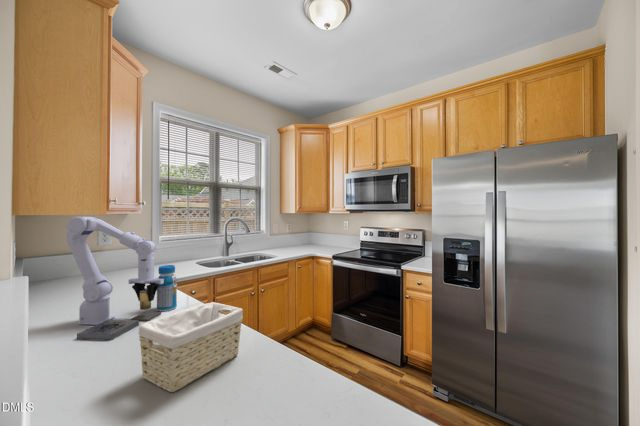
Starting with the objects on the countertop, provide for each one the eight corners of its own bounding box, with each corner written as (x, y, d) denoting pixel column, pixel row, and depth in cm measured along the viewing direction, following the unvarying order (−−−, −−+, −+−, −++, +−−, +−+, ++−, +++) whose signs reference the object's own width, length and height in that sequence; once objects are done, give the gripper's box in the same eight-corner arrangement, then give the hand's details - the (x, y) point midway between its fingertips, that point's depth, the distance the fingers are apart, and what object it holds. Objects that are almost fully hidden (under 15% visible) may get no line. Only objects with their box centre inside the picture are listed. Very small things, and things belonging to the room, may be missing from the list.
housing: (76, 339, 95) (76, 333, 95) (108, 324, 108) (108, 319, 108) (111, 340, 94) (111, 334, 94) (138, 325, 107) (138, 320, 107)
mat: (130, 320, 111) (130, 318, 111) (143, 313, 119) (143, 312, 119) (148, 321, 111) (148, 319, 111) (161, 314, 119) (161, 312, 119)
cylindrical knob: (137, 309, 113) (137, 290, 113) (145, 306, 117) (144, 288, 117) (146, 310, 112) (145, 291, 112) (153, 306, 116) (152, 288, 116)
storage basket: (211, 342, 92) (211, 299, 92) (245, 354, 84) (245, 307, 84) (135, 380, 71) (135, 324, 71) (171, 400, 63) (171, 337, 63)
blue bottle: (161, 313, 120) (161, 268, 120) (153, 309, 125) (153, 266, 125) (180, 308, 127) (180, 265, 127) (172, 304, 132) (172, 263, 132)
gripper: (122, 270, 112) (122, 303, 112) (155, 270, 111) (155, 303, 111) (135, 267, 119) (135, 298, 119) (166, 267, 118) (166, 298, 118)
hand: (146, 300), depth 115 cm, fingers closed on cylindrical knob, 4 cm apart
